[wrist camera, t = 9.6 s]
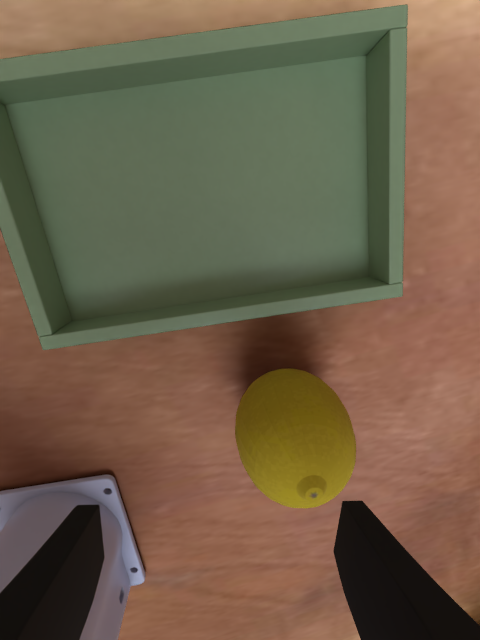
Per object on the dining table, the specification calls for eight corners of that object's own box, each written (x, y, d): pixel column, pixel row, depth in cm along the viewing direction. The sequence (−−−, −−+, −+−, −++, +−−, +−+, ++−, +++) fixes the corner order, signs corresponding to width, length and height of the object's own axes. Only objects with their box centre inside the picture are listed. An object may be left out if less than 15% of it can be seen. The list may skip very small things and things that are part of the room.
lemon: (309, 333, 19) (371, 413, 11) (332, 412, 20) (398, 527, 13) (219, 364, 19) (219, 461, 11) (248, 438, 21) (265, 567, 13)
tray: (378, 285, 18) (403, 296, 16) (66, 332, 18) (42, 350, 15) (376, 39, 15) (408, 3, 12) (-11, 92, 14) (-58, 66, 12)
